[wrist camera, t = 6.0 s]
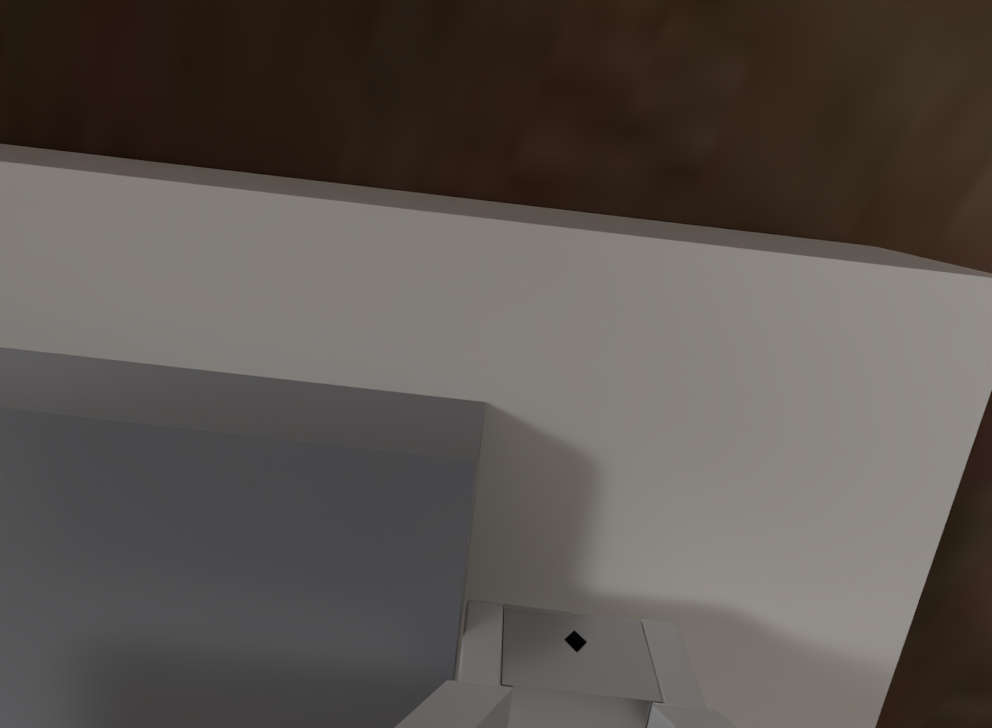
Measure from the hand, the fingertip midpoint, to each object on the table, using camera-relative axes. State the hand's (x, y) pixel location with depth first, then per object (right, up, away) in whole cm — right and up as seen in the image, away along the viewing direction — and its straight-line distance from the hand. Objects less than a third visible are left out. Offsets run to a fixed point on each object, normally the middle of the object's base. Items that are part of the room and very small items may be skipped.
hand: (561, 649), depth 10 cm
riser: (-3, +2, +5) cm, 6 cm away
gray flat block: (-6, +1, +1) cm, 6 cm away
